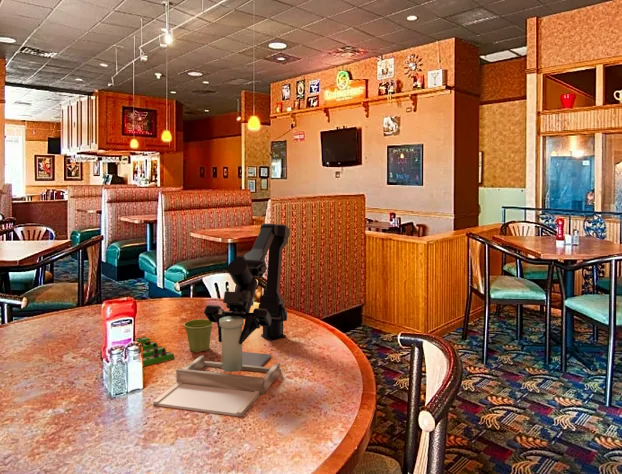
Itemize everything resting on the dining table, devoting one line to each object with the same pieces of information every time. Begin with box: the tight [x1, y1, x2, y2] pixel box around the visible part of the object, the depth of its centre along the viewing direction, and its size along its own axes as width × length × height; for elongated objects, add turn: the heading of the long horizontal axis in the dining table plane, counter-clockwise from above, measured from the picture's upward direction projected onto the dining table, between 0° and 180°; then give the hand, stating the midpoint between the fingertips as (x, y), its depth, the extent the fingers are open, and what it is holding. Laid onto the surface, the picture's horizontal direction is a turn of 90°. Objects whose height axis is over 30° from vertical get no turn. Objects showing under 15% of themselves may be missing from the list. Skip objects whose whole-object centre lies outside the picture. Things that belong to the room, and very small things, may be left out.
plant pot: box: [183, 318, 215, 353], centre depth 160 cm, size 9×9×9 cm
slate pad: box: [242, 351, 272, 367], centre depth 150 cm, size 11×11×1 cm
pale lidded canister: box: [219, 316, 245, 373], centre depth 138 cm, size 7×7×14 cm
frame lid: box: [152, 381, 260, 418], centre depth 124 cm, size 12×23×1 cm, turn 76°
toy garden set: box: [99, 334, 175, 367], centre depth 155 cm, size 23×19×5 cm
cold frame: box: [175, 355, 282, 395], centre depth 138 cm, size 15×24×4 cm, turn 76°
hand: (229, 342), depth 137 cm, fingers closed on pale lidded canister, 6 cm apart
